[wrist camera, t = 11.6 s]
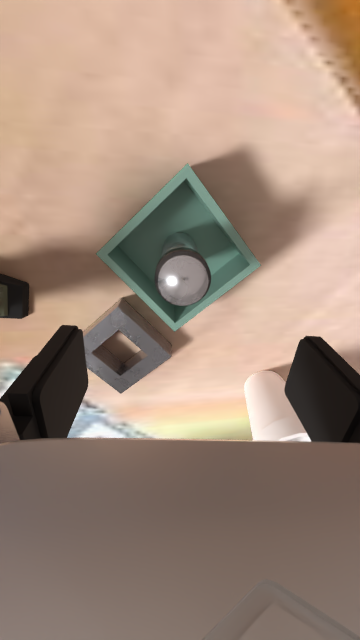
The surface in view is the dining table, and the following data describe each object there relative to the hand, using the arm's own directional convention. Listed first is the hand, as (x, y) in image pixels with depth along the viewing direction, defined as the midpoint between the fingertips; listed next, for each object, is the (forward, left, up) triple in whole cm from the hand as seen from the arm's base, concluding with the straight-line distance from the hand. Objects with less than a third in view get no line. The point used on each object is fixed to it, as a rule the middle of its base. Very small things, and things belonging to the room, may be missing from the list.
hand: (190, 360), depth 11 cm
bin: (0, 0, -23) cm, 23 cm away
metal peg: (0, 0, -22) cm, 22 cm away
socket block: (-5, +15, -23) cm, 28 cm away
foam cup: (-26, +4, -23) cm, 35 cm away
